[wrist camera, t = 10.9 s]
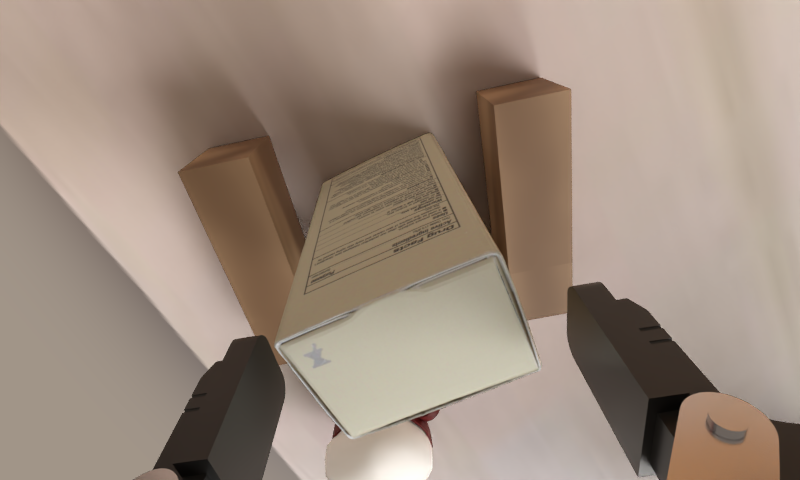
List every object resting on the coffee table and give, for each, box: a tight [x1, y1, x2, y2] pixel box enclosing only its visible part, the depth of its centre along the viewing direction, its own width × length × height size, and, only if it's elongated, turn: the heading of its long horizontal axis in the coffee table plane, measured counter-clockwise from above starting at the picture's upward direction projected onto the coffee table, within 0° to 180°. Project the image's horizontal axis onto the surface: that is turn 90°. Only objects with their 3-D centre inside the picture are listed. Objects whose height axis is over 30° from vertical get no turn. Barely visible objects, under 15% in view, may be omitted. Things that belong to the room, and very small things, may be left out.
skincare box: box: [274, 133, 542, 439], centre depth 16 cm, size 6×4×12 cm
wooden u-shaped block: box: [178, 78, 572, 365], centre depth 21 cm, size 16×11×4 cm
